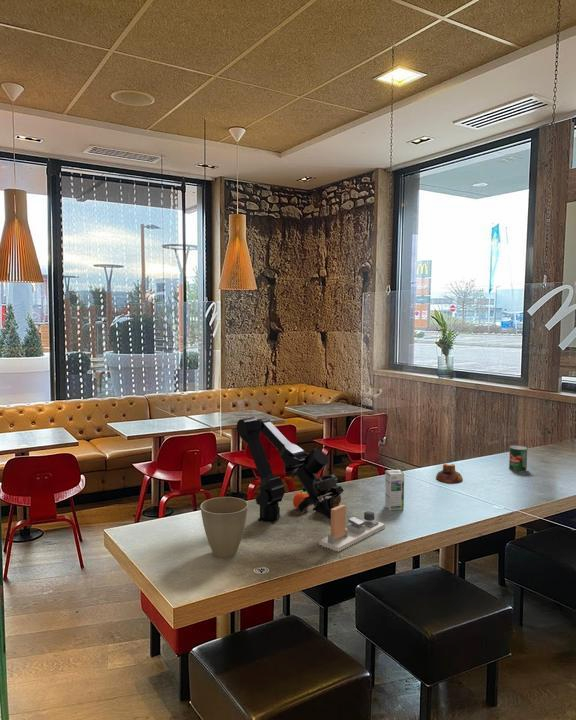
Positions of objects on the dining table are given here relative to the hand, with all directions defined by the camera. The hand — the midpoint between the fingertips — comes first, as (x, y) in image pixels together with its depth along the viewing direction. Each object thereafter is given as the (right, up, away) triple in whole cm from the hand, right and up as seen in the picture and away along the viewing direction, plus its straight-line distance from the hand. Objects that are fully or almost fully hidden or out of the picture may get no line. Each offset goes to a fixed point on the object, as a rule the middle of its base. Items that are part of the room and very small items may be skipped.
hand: (334, 520), depth 189 cm
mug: (+1, -5, +29) cm, 29 cm away
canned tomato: (+95, 0, +86) cm, 128 cm away
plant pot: (-36, -9, -8) cm, 38 cm away
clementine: (-10, -5, +31) cm, 33 cm away
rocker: (+8, -3, +7) cm, 11 cm away
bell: (+58, -2, +70) cm, 91 cm away
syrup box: (+26, -5, +34) cm, 43 cm away
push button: (+13, -3, +13) cm, 19 cm away
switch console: (+7, -7, +6) cm, 12 cm away
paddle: (+1, -5, 0) cm, 5 cm away
